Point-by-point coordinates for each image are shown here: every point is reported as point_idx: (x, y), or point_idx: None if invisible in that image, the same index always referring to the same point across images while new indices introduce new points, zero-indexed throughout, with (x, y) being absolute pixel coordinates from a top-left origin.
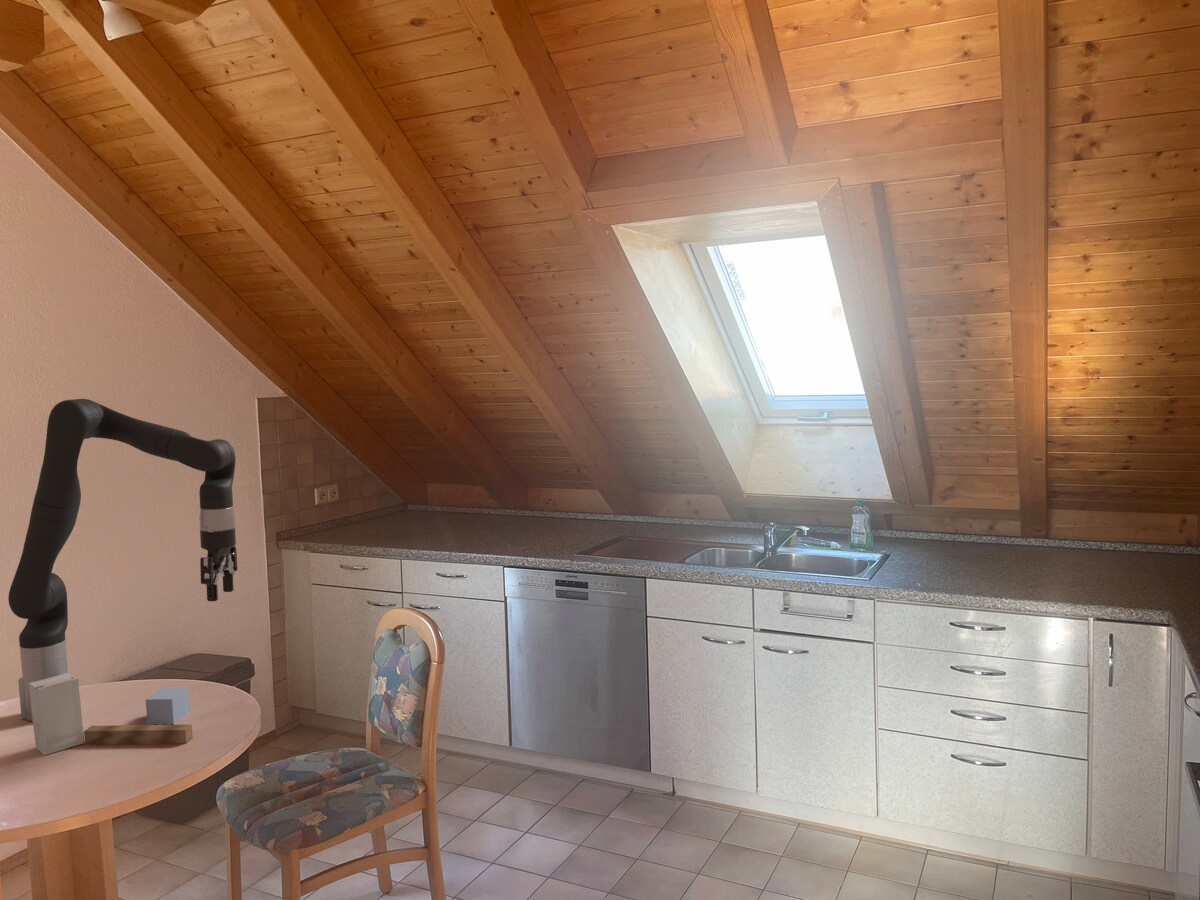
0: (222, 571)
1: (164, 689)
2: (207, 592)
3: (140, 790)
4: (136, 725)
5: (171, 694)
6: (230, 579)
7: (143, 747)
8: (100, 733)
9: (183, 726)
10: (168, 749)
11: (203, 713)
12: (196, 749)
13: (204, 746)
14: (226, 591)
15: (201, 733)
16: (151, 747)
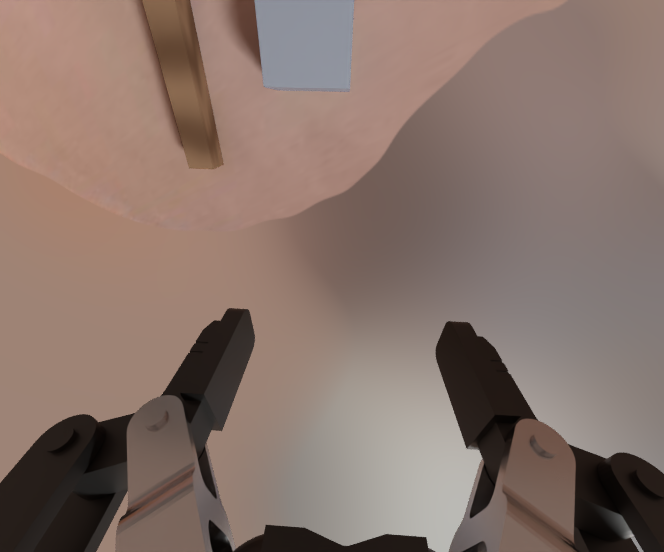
0: (499, 476)
1: (335, 13)
2: (188, 356)
3: (44, 169)
4: (180, 32)
5: (295, 65)
6: (460, 420)
7: None
8: None
9: (201, 157)
10: (172, 142)
11: (335, 131)
12: (185, 190)
13: (198, 198)
14: (445, 331)
15: (243, 171)
16: None
